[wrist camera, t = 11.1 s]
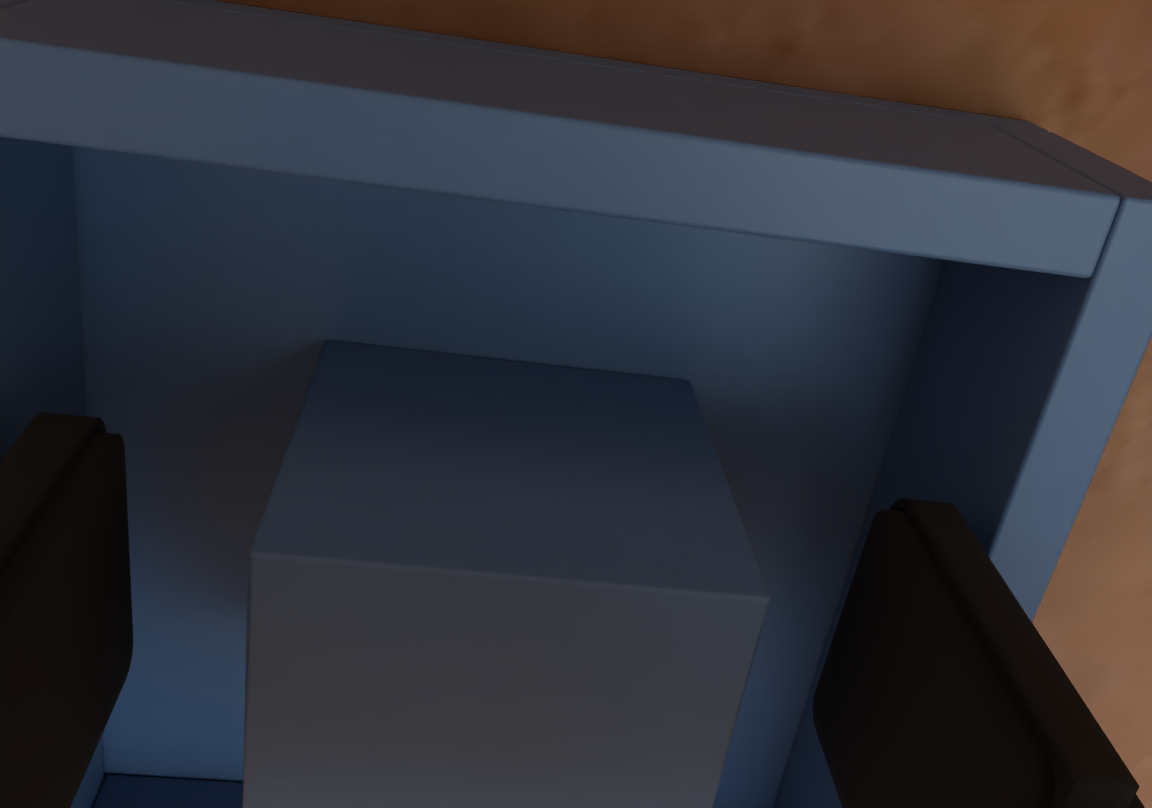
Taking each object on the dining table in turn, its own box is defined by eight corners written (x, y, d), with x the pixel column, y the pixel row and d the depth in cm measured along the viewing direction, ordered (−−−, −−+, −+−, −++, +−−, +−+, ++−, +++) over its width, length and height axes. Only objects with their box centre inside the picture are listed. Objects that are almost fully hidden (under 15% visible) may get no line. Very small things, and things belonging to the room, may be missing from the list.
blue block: (307, 637, 15) (238, 924, 11) (324, 337, 13) (247, 554, 9) (629, 663, 16) (674, 944, 12) (691, 379, 14) (773, 600, 10)
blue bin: (65, 778, 17) (-38, 999, 13) (7, -32, 12) (-183, 12, 8) (798, 822, 18) (863, 1032, 15) (1031, 121, 13) (1207, 208, 10)
